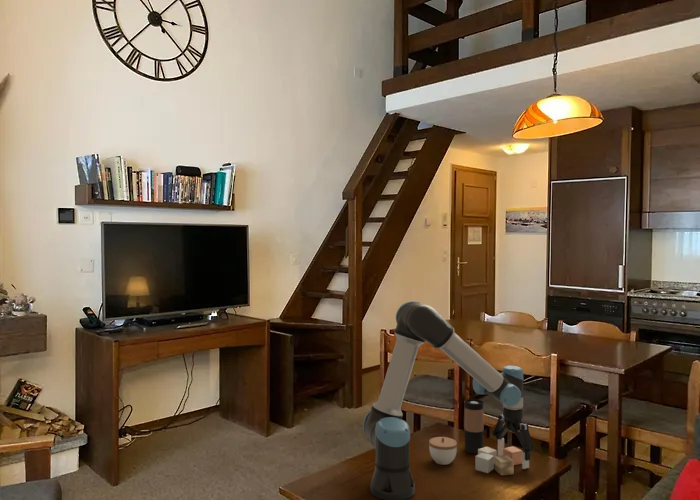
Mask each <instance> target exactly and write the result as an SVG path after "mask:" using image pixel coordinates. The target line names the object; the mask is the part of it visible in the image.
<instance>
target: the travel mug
mask: <svg viewBox="0 0 700 500" xmlns="http://www.w3.org/2000/svg"><path fill="white" fill-rule="evenodd" d="M463 421H464V422H463V423H464V424H463V426H464V429H463V432H464V437H463V438H464V450H465V452H467V453H470V454H478V449H480V448H483V447H484V431H485V430H484V401H483V400H481V399H477V398H466V399H465V400H464V418H463Z"/></svg>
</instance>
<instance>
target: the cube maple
mask: <svg viewBox="0 0 700 500" xmlns="http://www.w3.org/2000/svg"><path fill="white" fill-rule="evenodd" d="M514 466H515V465H514V461H513V460H512V459H511V458H510V457H508V456H503V455H502V456H498V455H497V456H496V457H495V464H494V470H495V471H496V472H497V473H498V474H499V475H500V476H508V475H514V474H515V473H514V471H515V469H514Z"/></svg>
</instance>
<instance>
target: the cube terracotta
mask: <svg viewBox="0 0 700 500" xmlns="http://www.w3.org/2000/svg"><path fill="white" fill-rule="evenodd" d="M522 451H523V449H522V450H521V449H520V448H518V447H516V446H508V447H504V448H503V455H502V456H508V457H510V458H511V459H512V460H513V461H514V466H517V465H522Z"/></svg>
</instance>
